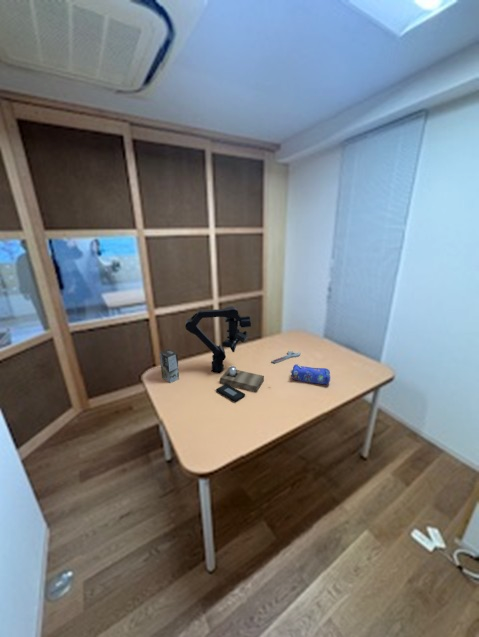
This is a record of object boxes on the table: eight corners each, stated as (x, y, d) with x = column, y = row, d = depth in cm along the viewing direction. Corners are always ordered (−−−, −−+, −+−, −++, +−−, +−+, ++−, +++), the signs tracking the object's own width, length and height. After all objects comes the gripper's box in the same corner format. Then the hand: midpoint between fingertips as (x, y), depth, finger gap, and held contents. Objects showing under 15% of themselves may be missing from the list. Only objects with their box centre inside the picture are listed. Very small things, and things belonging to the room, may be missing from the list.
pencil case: (289, 381, 148) (290, 367, 146) (291, 374, 156) (292, 360, 153) (329, 388, 143) (332, 373, 140) (329, 380, 151) (331, 365, 148)
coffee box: (179, 378, 150) (177, 353, 145) (170, 383, 145) (167, 357, 140) (170, 373, 156) (168, 348, 151) (161, 377, 151) (159, 352, 146)
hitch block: (220, 383, 146) (220, 377, 145) (229, 373, 157) (229, 368, 155) (256, 392, 138) (257, 386, 137) (263, 381, 149) (264, 375, 147)
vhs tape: (226, 386, 144) (226, 383, 143) (245, 397, 135) (245, 394, 134) (216, 392, 139) (216, 389, 138) (235, 403, 129) (235, 400, 129)
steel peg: (228, 380, 148) (228, 368, 146) (230, 377, 152) (230, 365, 149) (234, 382, 147) (234, 369, 145) (236, 378, 150) (236, 366, 148)
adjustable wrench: (265, 359, 175) (266, 357, 174) (294, 351, 188) (295, 348, 187) (273, 365, 168) (273, 362, 168) (302, 356, 181) (303, 353, 180)
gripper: (239, 335, 141) (239, 361, 146) (251, 324, 158) (251, 348, 162) (221, 332, 145) (222, 357, 150) (234, 322, 162) (235, 345, 167)
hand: (233, 351), depth 157 cm, fingers closed
